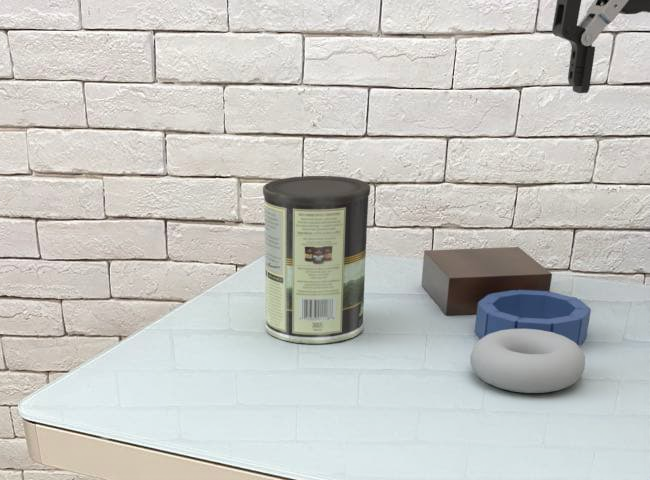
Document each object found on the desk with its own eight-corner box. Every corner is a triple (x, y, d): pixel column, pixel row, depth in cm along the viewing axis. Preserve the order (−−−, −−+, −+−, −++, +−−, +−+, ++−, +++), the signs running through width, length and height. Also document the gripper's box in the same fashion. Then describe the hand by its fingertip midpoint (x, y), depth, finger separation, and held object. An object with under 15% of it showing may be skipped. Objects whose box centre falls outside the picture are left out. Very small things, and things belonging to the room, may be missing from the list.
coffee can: (331, 306, 105) (336, 171, 98) (382, 334, 97) (391, 189, 90) (247, 320, 102) (244, 181, 94) (292, 351, 94) (294, 201, 86)
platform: (514, 281, 112) (518, 246, 110) (546, 310, 103) (552, 273, 101) (421, 285, 111) (424, 250, 109) (445, 315, 102) (449, 278, 100)
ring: (560, 315, 101) (565, 287, 100) (601, 351, 92) (606, 321, 91) (463, 319, 101) (466, 291, 99) (495, 356, 92) (498, 326, 90)
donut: (602, 378, 87) (506, 349, 93) (610, 341, 85) (512, 314, 91) (544, 410, 81) (446, 377, 87) (550, 372, 79) (450, 341, 85)
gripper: (594, -130, 74) (564, 99, 83) (772, -136, 75) (724, 92, 83) (559, -124, 81) (534, 89, 89) (724, -129, 81) (684, 82, 90)
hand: (626, 90), depth 86 cm, fingers open, 8 cm apart
